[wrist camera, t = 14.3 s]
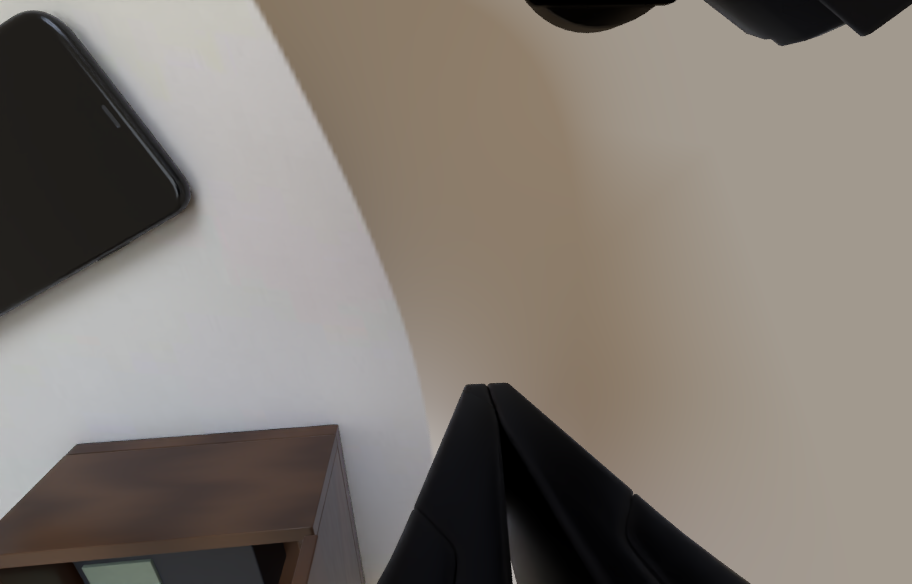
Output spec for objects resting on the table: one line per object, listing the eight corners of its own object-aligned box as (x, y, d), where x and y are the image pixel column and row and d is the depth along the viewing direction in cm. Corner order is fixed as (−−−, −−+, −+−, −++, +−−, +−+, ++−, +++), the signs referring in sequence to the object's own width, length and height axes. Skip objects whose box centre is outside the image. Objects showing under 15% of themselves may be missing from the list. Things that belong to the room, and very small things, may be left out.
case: (154, 605, 28) (87, 734, 22) (76, 443, 23) (-39, 558, 17) (365, 584, 29) (352, 703, 23) (338, 424, 24) (312, 526, 18)
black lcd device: (268, 489, 24) (248, 541, 21) (287, 555, 26) (270, 611, 23) (108, 503, 24) (65, 558, 21) (140, 570, 26) (105, 628, 23)
